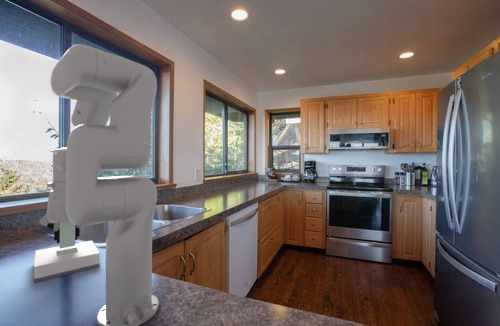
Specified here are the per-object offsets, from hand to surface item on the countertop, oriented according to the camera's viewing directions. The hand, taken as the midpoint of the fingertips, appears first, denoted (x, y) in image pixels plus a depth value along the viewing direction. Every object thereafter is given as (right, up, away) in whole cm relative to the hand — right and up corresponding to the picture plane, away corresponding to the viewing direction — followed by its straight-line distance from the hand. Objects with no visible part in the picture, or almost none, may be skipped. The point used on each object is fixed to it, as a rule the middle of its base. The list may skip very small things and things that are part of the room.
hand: (67, 240), depth 79 cm
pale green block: (0, -2, 0) cm, 2 cm away
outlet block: (0, -8, 0) cm, 8 cm away
